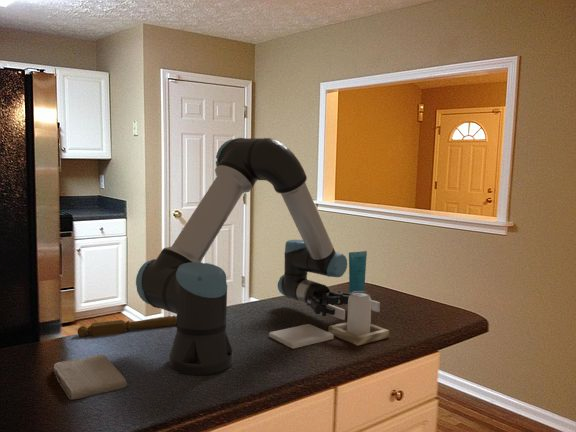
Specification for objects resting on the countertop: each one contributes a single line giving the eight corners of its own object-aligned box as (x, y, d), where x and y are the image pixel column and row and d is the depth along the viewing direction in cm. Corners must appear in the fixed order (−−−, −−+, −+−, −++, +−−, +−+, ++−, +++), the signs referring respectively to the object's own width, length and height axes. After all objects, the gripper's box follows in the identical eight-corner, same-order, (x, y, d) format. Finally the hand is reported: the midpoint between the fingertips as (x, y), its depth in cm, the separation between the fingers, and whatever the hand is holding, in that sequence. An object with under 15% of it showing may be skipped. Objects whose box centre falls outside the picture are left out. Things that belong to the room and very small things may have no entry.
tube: (358, 304, 178) (361, 249, 176) (369, 308, 174) (371, 251, 172) (342, 308, 173) (344, 251, 171) (353, 311, 169) (355, 253, 167)
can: (369, 340, 143) (371, 297, 142) (345, 337, 144) (347, 295, 143) (370, 332, 150) (372, 291, 148) (347, 330, 151) (349, 290, 149)
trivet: (292, 348, 135) (292, 344, 135) (269, 336, 144) (269, 332, 144) (333, 338, 143) (333, 334, 143) (308, 327, 152) (308, 323, 152)
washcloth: (103, 362, 125) (102, 349, 125) (129, 389, 111) (129, 375, 110) (50, 373, 118) (49, 360, 118) (71, 404, 104) (70, 389, 103)
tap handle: (187, 315, 153) (78, 328, 139) (187, 325, 153) (78, 339, 139) (184, 312, 155) (77, 324, 142) (184, 322, 156) (77, 335, 142)
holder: (357, 345, 139) (357, 338, 138) (328, 332, 148) (328, 326, 148) (388, 337, 146) (389, 330, 145) (358, 325, 155) (359, 319, 155)
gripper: (343, 300, 171) (391, 316, 154) (281, 312, 156) (327, 331, 139) (343, 277, 170) (392, 292, 153) (282, 287, 155) (328, 304, 138)
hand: (362, 311), depth 146 cm, fingers open, 13 cm apart
